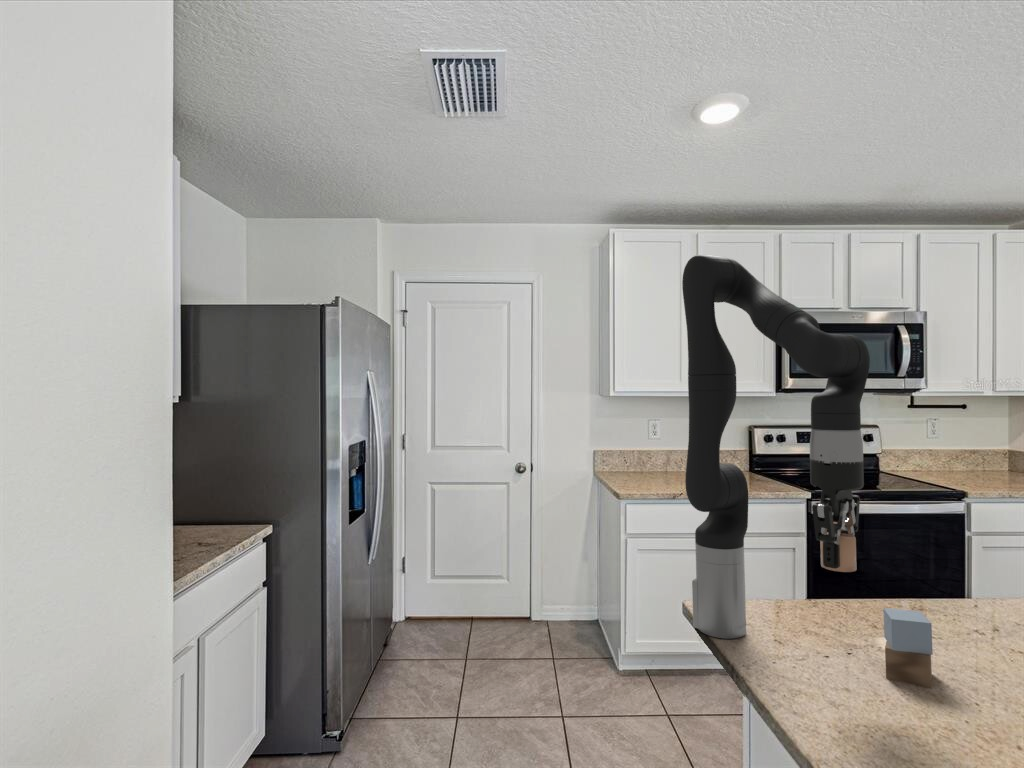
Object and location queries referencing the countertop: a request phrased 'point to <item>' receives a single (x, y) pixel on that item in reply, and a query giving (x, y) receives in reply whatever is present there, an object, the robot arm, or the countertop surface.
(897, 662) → the tower base
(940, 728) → the countertop surface
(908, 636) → the tower top
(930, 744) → the countertop surface
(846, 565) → the tan rounded cylinder
